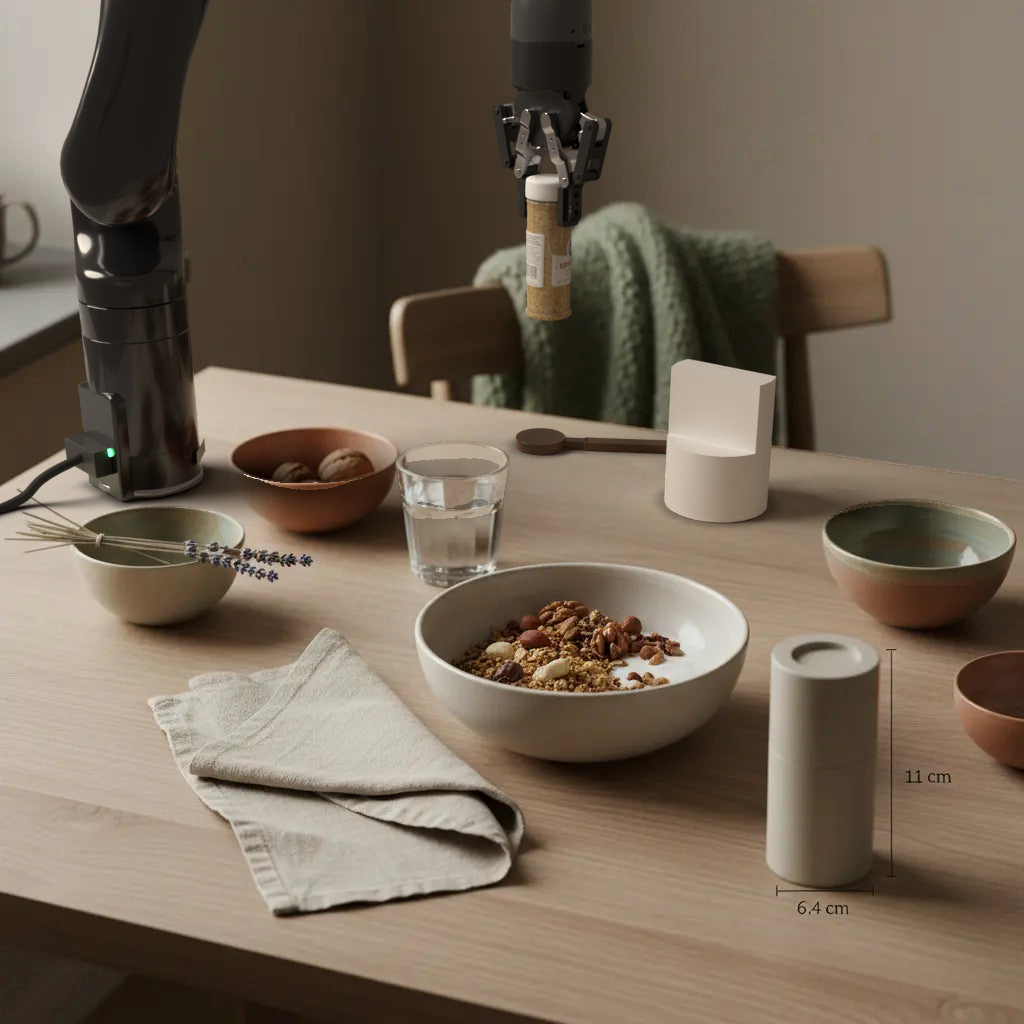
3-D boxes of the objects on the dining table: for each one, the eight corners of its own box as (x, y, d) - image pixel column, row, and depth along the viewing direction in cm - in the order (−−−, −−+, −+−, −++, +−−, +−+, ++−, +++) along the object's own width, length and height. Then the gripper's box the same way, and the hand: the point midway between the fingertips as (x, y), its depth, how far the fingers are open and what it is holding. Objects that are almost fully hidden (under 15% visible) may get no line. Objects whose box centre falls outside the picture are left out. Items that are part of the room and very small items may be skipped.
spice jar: (575, 321, 145) (577, 180, 140) (528, 322, 145) (529, 181, 139) (567, 308, 149) (569, 171, 144) (521, 310, 149) (522, 172, 144)
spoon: (698, 442, 147) (698, 433, 146) (699, 460, 142) (700, 450, 142) (517, 436, 148) (517, 427, 148) (513, 454, 144) (513, 444, 143)
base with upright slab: (645, 506, 132) (650, 375, 127) (695, 475, 139) (701, 350, 134) (737, 530, 127) (746, 395, 122) (784, 497, 134) (794, 368, 129)
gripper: (468, 30, 139) (469, 215, 146) (578, 43, 130) (574, 240, 136) (527, 25, 144) (526, 204, 151) (638, 37, 134) (631, 228, 141)
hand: (549, 220), depth 143 cm, fingers closed on spice jar, 4 cm apart
